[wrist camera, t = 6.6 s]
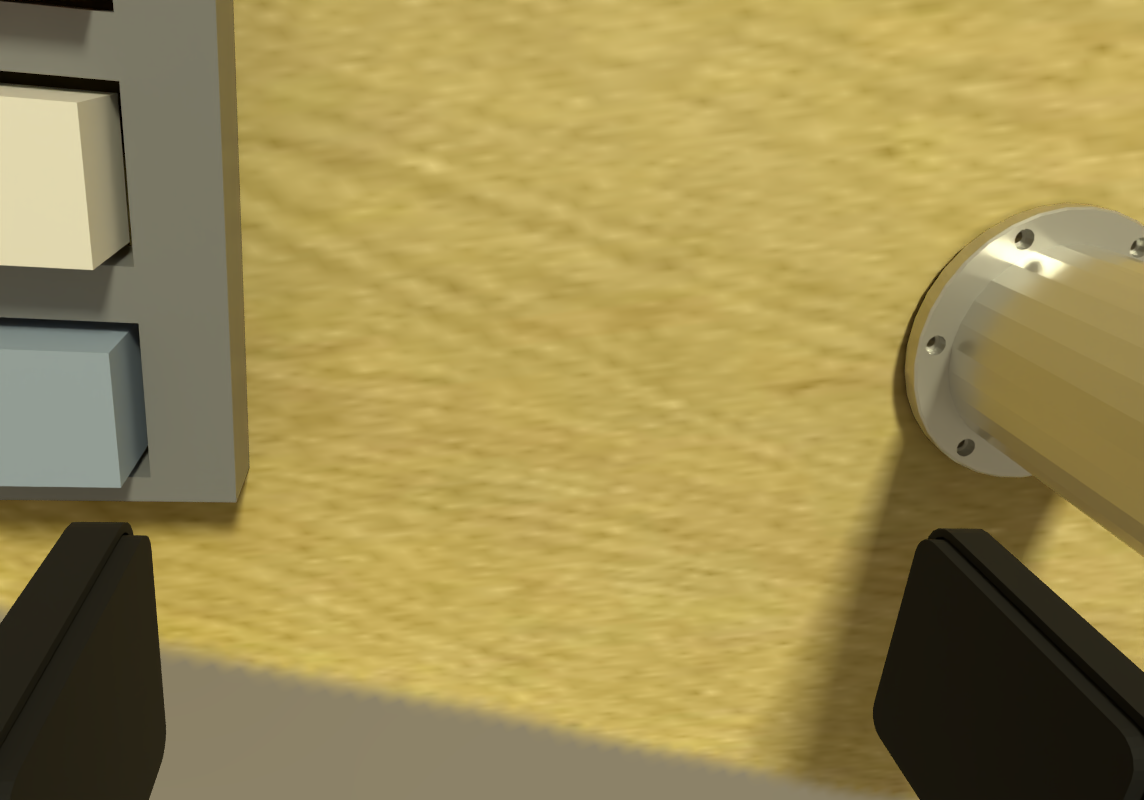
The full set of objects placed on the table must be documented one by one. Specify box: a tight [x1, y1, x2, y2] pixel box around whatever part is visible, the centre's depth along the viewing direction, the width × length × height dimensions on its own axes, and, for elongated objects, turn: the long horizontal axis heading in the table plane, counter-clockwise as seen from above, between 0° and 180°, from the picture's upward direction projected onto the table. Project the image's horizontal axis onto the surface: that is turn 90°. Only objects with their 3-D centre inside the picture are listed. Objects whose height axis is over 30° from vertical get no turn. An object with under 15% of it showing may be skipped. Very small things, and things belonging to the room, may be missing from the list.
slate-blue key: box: [0, 317, 148, 488], centre depth 33 cm, size 5×5×4 cm
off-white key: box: [0, 83, 130, 270], centre depth 29 cm, size 5×5×4 cm
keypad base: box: [0, 0, 249, 502], centre depth 31 cm, size 12×24×3 cm, turn 174°
